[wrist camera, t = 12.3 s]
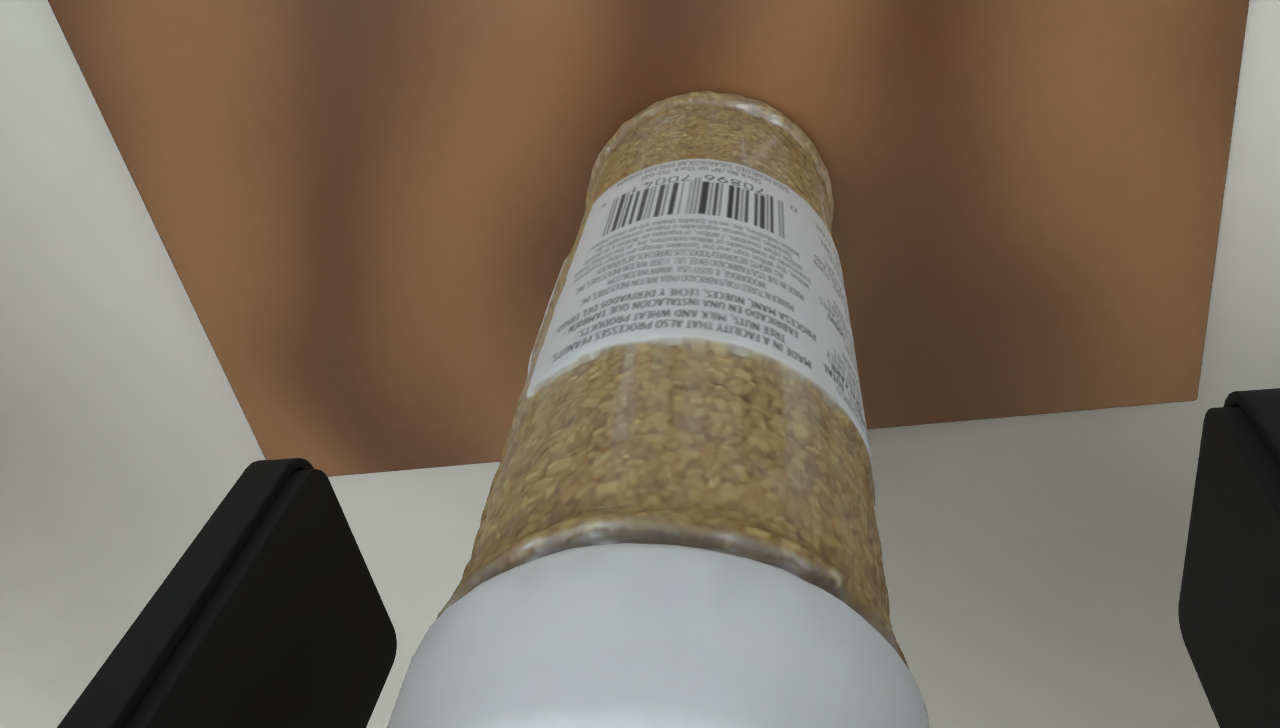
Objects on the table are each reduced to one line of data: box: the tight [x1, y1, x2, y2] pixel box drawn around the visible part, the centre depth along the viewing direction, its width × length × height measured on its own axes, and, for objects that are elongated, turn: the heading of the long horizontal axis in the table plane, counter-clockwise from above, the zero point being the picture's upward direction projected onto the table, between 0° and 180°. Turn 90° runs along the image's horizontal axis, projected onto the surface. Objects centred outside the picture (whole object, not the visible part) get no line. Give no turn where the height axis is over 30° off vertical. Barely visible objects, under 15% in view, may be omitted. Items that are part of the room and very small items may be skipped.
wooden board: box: [48, 0, 1249, 477], centre depth 19 cm, size 20×12×1 cm, turn 100°
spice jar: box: [387, 91, 930, 728], centre depth 13 cm, size 5×5×13 cm
